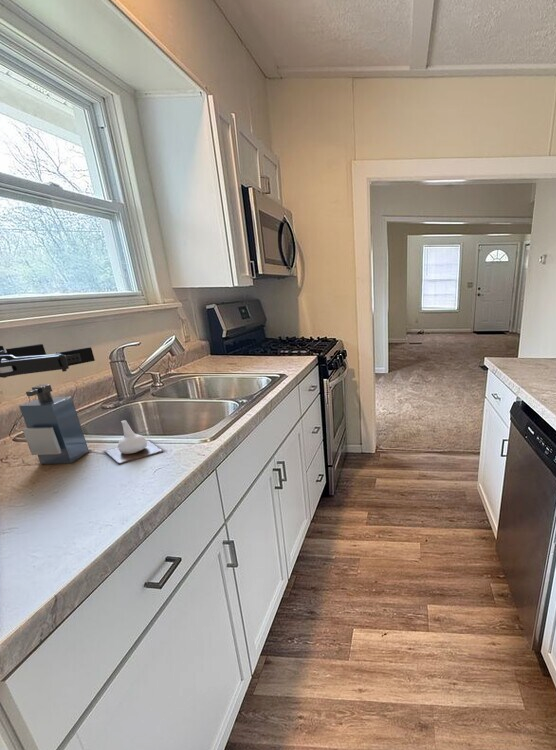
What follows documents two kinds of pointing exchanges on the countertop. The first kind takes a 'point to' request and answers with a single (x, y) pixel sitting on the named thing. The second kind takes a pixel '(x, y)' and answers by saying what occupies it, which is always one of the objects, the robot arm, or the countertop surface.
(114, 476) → the countertop surface
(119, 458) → the flat dark-edged slab
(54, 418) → the soap dispenser
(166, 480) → the countertop surface
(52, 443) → the dispenser paddle
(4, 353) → the robot arm
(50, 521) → the countertop surface
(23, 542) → the countertop surface
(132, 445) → the garlic bulb
